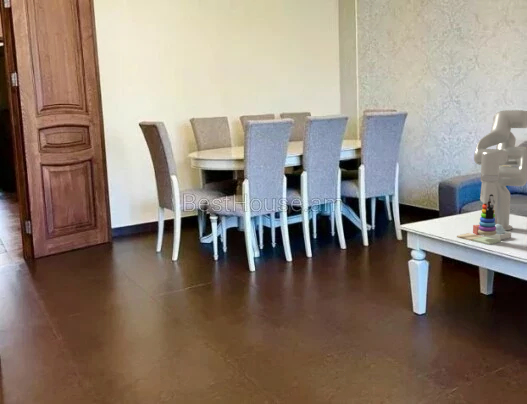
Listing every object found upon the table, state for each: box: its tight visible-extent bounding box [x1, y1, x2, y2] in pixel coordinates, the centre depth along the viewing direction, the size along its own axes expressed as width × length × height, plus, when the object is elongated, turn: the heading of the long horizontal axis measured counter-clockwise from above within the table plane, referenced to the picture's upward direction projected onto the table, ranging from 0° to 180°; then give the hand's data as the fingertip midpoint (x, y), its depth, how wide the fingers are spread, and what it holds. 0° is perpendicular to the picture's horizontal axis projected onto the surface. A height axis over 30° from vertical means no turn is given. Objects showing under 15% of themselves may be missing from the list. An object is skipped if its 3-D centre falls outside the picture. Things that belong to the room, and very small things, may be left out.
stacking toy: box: [478, 200, 497, 236], centre depth 249 cm, size 8×8×19 cm
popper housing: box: [483, 230, 512, 241], centre depth 258 cm, size 9×9×3 cm
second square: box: [472, 237, 502, 246], centre depth 252 cm, size 8×8×1 cm
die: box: [472, 224, 482, 236], centre depth 266 cm, size 4×4×4 cm
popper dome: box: [495, 224, 505, 235], centre depth 257 cm, size 6×6×5 cm
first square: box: [456, 232, 484, 242], centre depth 259 cm, size 8×8×1 cm
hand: (487, 216), depth 249 cm, fingers closed on stacking toy, 5 cm apart
